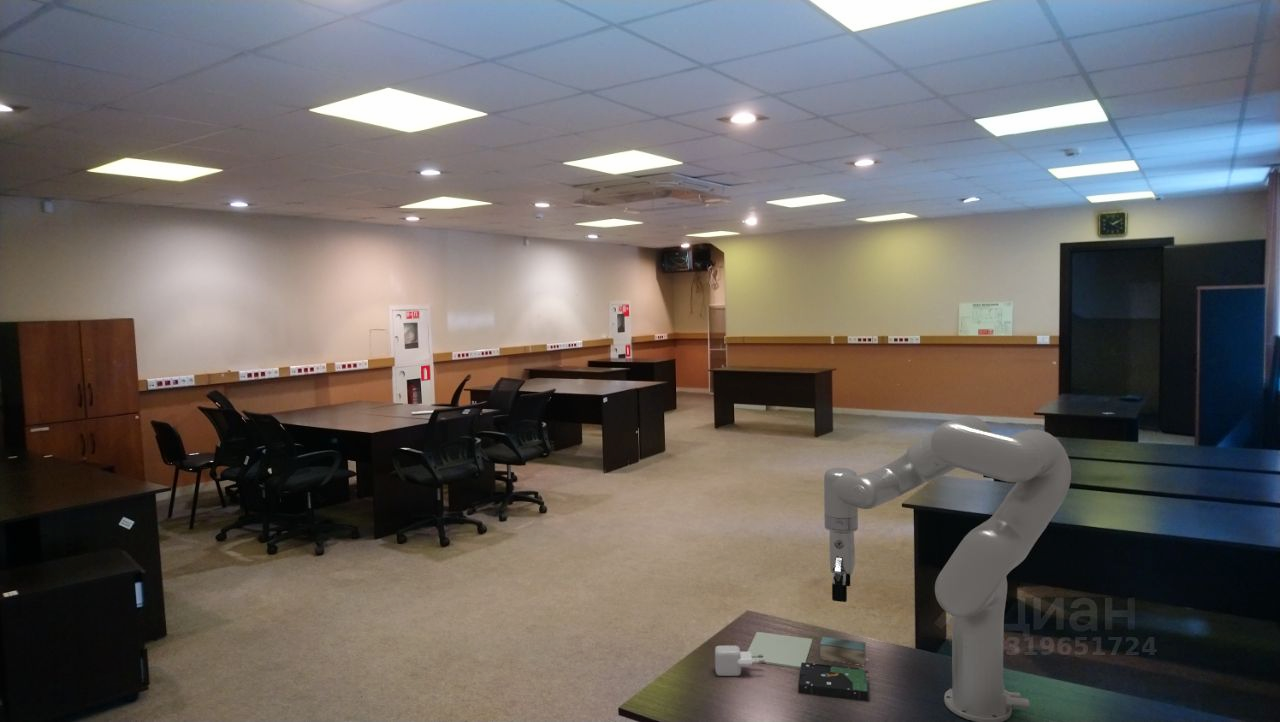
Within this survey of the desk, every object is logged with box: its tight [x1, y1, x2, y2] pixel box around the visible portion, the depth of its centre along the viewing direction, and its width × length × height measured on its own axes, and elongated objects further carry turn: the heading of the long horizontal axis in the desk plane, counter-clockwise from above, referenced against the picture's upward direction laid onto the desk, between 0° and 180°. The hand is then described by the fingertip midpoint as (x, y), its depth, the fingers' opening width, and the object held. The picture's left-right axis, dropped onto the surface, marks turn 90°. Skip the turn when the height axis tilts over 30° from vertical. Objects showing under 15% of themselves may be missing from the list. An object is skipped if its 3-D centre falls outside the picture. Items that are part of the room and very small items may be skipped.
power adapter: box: [714, 645, 765, 677], centre depth 166 cm, size 11×5×6 cm, turn 87°
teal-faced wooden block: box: [819, 636, 867, 666], centre depth 172 cm, size 10×4×4 cm, turn 68°
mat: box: [746, 631, 814, 670], centre depth 177 cm, size 14×15×1 cm
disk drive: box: [797, 662, 870, 702], centre depth 160 cm, size 10×3×15 cm
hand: (841, 592), depth 171 cm, fingers open, 9 cm apart
